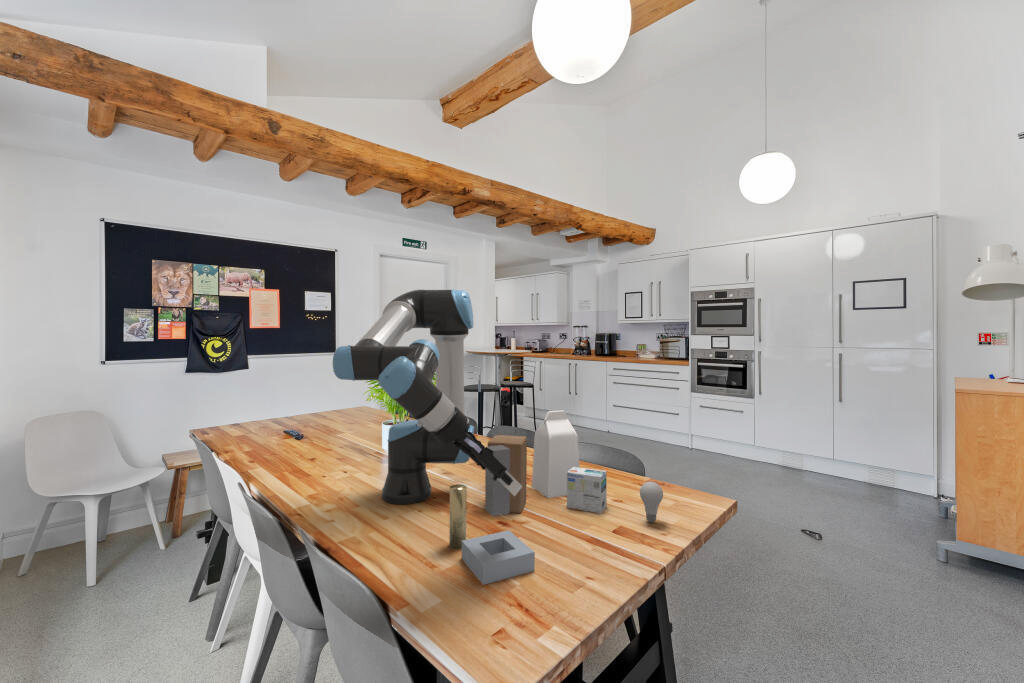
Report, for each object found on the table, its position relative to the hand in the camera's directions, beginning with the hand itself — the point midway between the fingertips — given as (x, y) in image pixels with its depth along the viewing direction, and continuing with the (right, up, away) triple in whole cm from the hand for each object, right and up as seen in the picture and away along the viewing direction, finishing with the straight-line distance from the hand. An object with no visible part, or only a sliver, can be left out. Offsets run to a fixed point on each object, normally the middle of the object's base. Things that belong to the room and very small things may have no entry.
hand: (512, 487), depth 97 cm
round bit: (-13, -16, +7) cm, 22 cm away
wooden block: (-2, -16, +32) cm, 36 cm away
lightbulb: (+38, -17, +21) cm, 46 cm away
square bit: (-3, -5, -2) cm, 6 cm away
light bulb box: (+22, -17, +32) cm, 42 cm away
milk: (+14, -17, +47) cm, 51 cm away
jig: (-3, -16, -2) cm, 17 cm away
